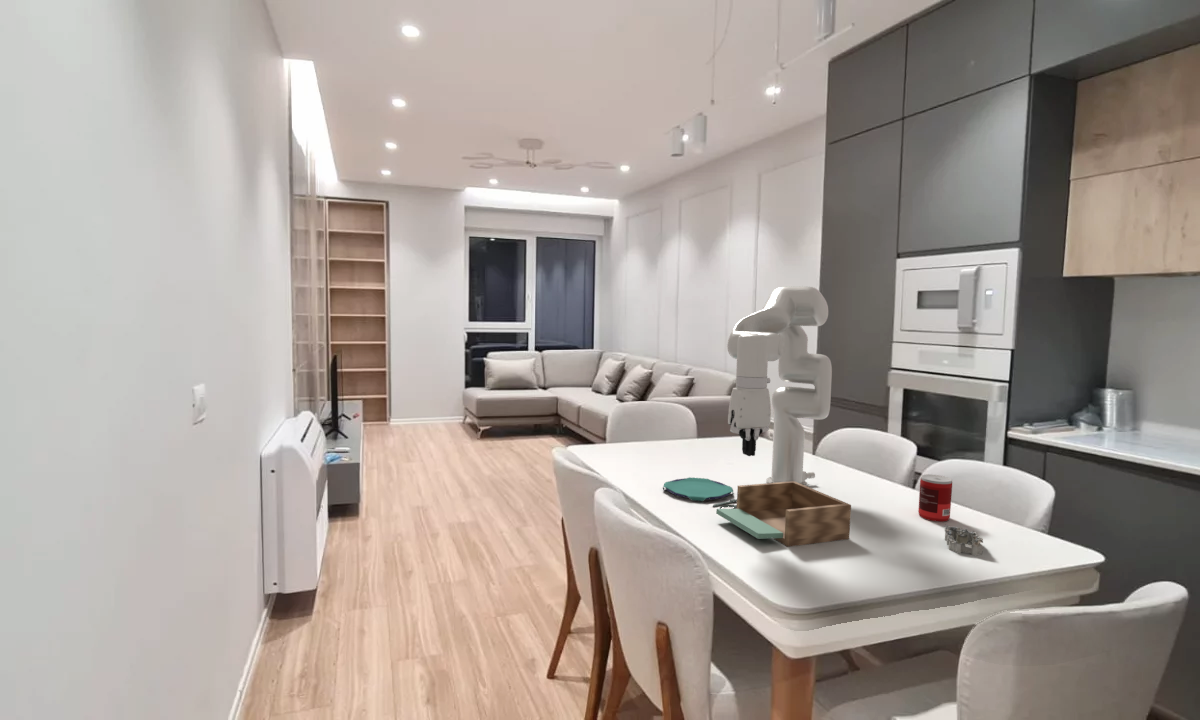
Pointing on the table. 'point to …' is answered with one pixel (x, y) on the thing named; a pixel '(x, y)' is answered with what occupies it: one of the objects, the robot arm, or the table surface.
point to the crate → (796, 512)
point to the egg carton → (963, 540)
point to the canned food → (935, 497)
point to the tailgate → (749, 523)
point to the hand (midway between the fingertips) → (748, 454)
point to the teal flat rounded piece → (700, 490)
